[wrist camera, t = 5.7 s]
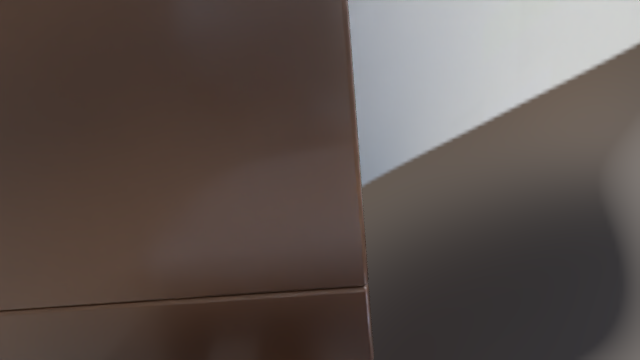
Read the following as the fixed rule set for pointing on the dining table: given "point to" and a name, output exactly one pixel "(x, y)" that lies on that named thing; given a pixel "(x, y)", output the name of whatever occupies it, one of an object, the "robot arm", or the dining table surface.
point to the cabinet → (180, 182)
